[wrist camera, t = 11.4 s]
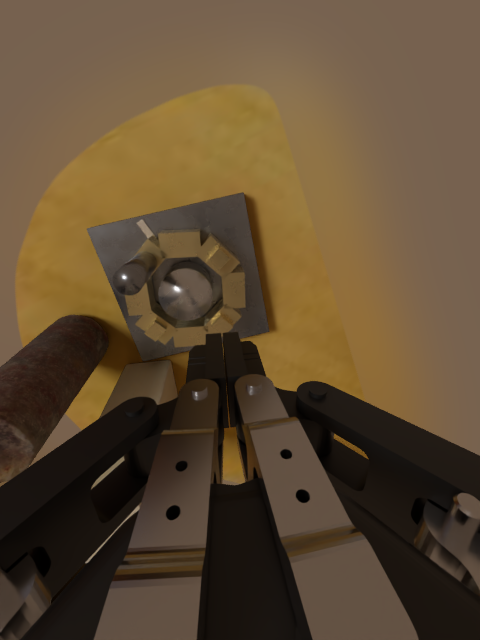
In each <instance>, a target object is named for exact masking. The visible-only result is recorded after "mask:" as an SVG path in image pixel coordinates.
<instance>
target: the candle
mask: <svg viewBox="0 0 480 640" xmlns="http://www.w3.org/2000/svg"><path fill="white" fill-rule="evenodd" d="M108 343H109V341H108V337H107V334H106V333H105V331H104V330H103V329H102V327H101V326H100V325H99V324H98V323H97V322H95V321H94V320H93V319H91V318H88V317H84V316H79V315H68V316H65V317H62V318H60V319H58V320H57V321H55V322H54V323H53V324H52V325H50V326H49V327H48V328H47V329H46V330H44V331H43V332H42V333H41V334H40V335H38V336H37V337H36V338H35V339H33V340H32V341H31V342H30V343H29V344H28V345H26V346H25V347H24V348H23V349H22V350H20V351H19V352H18V353H17V354H16V355H15V356H13V357H12V358H11V359H10V360H9V361H8V362H6V363H5V364H4V365H2V366H1V367H0V483H1V482H4V481H10V480H11V479H12V478H14V477H15V476H17V475H18V474H20V473H21V472H23V471H24V470H25V469H26V468H27V467H28V466H29V465H30V464H31V463H32V461H33V460H34V458H35V457H36V455H37V453H38V452H39V451H40V449H41V448H42V446H43V445H44V443H45V442H46V440H47V439H48V437H49V436H50V434H51V433H52V431H53V430H54V428H55V427H56V426H57V424H58V423H59V421H60V419H61V418H62V416H63V415H64V413H65V412H66V411H67V409H68V408H69V406H70V404H71V403H72V401H73V400H74V398H75V397H76V396H77V394H78V393H79V391H80V390H81V388H82V387H83V385H84V384H85V382H86V381H87V380H88V378H89V377H90V375H91V374H92V372H93V371H94V369H95V368H96V367H97V365H98V364H99V362H100V361H101V359H102V357H103V356H104V354H105V353H106V351H107V348H108Z"/></svg>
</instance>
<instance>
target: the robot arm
mask: <svg viewBox="0 0 480 640" xmlns="http://www.w3.org/2000/svg"><path fill="white" fill-rule="evenodd" d="M223 349H224V356H223ZM224 364H225V366H224ZM226 386H227V391H226ZM227 396H228V407H229V417H230V427H236V430H237V444H238V449H239V454H240V459H241V463H242V468H243V473H244V477H245V483H242V484H240V485H235V486H234V485H226V484H222V478H223V440H224V428H229V422H228V407H227ZM334 434H336V435H338V436H340V437H341V438H343V439H345V440H346V441H348V442H350V443H351V444H353V445H355V446H357V447H358V448H360V449H361V450H362V451H364V452H365V454H366V455H367V456H368V458H369V460H368V459H367V458H365V457H363V456H362V455H360V454H358V453H357V452H355V451H353V450H352V449H350V448H348V447H347V446H345V445H343V444H342V443H340V442H338V441H337V440H335V439H333V438H334ZM123 456H124V461H123V462H122V463H121V464H119V465H118V466H117V467H116V468H115V469H114V470H113V471H111V472H110V473H109V474H108V475H107V476H106V477H105V478H104V479H102V480H101V481H100V482H99V483H98V484H97V485H96V486H94V487H93V488H92V486H93V484H94V483H95V481H96V480H97V479H98V478H99V477H100V476H101V475H102V474H103V473H105V472H106V471H107V470H108V469H109V468H110V467H111V466H113V465H114V464H115V463H116V462H117V461H118V460H120V459H121V458H122V457H123ZM333 487H334V488H333ZM91 488H92V489H91ZM140 503H141V505H140V509H139V510H138V511H137V512H136V513H134V514H133V515H132V516H130V517H129V518H128V519H127V520H126V521H125V522H124V523H123V524H122V522H123V521H124V520H125V519H126V518H127V517H128V516H129V515H130V514H131V513H132V512H133V511H134V510H135V508H136V507H137V506H138V505H139V504H140ZM121 524H122V525H121ZM120 525H121V526H120ZM119 526H120V527H119ZM118 527H119V528H118ZM117 528H118V529H117ZM116 529H117V530H116ZM115 530H116V531H115ZM114 531H115V532H114ZM113 532H114V534H113V535H112V536H111V537H110V538H109V536H110V535H111V534H112V533H113ZM108 538H109V539H108ZM107 539H108V540H107ZM106 540H107V541H106ZM105 541H106V543H105V544H104V545H103V546H102V547H101V548H100V549H99V551H98V552H97V553H96V554H95V555H94V556H93V557H92V559H91V560H90V561H89V562H88V563H87V564H86V565H85V566H84V568H83V569H82V570H81V571H80V572H79V573H78V575H77V576H76V577H75V578H74V579H73V580H72V581H71V583H69V585H68V586H67V587H66V588H65V589H64V590H63V592H62V593H61V594H60V595H59V596H58V597H57V598H56V599H55V601H54V602H53V603H52V604H51V605H50V603H51V599H52V598H53V596H55V595H56V593H57V592H58V591H59V590H60V589H61V588H62V587H63V586H64V585H65V584H66V582H68V581H69V579H70V578H71V577H72V576H73V575H74V574H75V573H76V572H77V571H78V569H80V568H81V566H82V565H83V564H84V563H85V562H86V561H87V560H88V559H89V558H90V557H91V556H92V555H93V554H94V553H95V552H96V550H97V549H98V548H99V547H100V546H101V545H102V544H103V543H104V542H105ZM0 640H480V456H479V455H477V454H475V453H473V452H470V451H468V450H466V449H464V448H462V447H460V446H458V445H456V444H454V443H451V442H449V441H447V440H445V439H443V438H441V437H439V436H437V435H434V434H432V433H430V432H428V431H426V430H424V429H421V428H419V427H418V426H415V425H413V424H411V423H409V422H407V421H405V420H403V419H400V418H398V417H396V416H394V415H392V414H390V413H388V412H386V411H384V410H381V409H379V408H377V407H375V406H373V405H371V404H369V403H367V402H364V401H362V400H360V399H358V398H356V397H354V396H352V395H350V394H347V393H345V392H343V391H341V390H339V389H337V388H335V387H333V386H330V385H328V384H326V383H323V382H318V381H310V382H305V383H303V384H301V385H300V386H299V387H298V388H297V392H294V391H287V390H282V389H279V388H276V387H274V385H273V383H272V381H271V380H270V379H269V378H267V377H266V374H265V371H264V368H263V365H262V362H261V359H260V356H259V353H258V350H257V346H256V345H254V344H253V343H252V342H251V341H243V342H240V338H239V334H238V332H225V333H223V346H222V336H221V333H213V334H206V343H205V345H195V346H194V347H193V348H192V349H191V350H190V352H189V360H188V368H187V377H186V384H185V385H183V386H182V388H181V389H180V392H179V395H178V397H177V398H175V399H173V400H171V401H168V402H166V403H162V404H159V405H157V403H156V401H155V400H154V399H152V398H149V397H135V398H131V399H128V400H126V401H124V402H123V403H121V404H120V405H118V406H117V407H115V408H114V409H112V410H111V411H109V412H108V413H107V414H105V415H104V416H102V417H101V418H99V419H98V420H96V421H95V422H94V423H92V424H91V425H89V426H88V427H86V428H85V429H83V430H82V431H81V432H79V433H78V434H76V435H75V436H73V437H72V438H70V439H69V440H67V441H66V442H65V443H63V444H62V445H60V446H59V447H57V448H56V449H54V450H53V451H52V452H50V453H49V454H47V455H46V456H44V457H43V458H42V459H40V460H39V461H37V462H36V463H34V464H33V465H31V466H30V467H29V468H27V469H25V470H24V471H23V472H21V473H20V474H18V475H17V476H15V477H14V478H12V479H11V480H10V481H8V482H7V483H5V484H4V485H2V486H1V487H0Z"/></svg>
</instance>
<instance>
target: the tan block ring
mask: <svg viewBox="0 0 480 640" xmlns="http://www.w3.org/2000/svg"><path fill="white" fill-rule="evenodd" d="M158 237H159V240H158V239H157V238H155V237H154V236H153V235H152V236H151V237H149V238H148V239H147V240H146V241H145V243H144V244H143V245H142V247H141V248H140V249H139V250H138V252H137V253H136V254H135V255H134V257H133V258H132V259H130V260H129V261H128V262H127V263H126V264H124V265H123V266H122V267H121V268H120V269H118V270H117V271H116V272H115V273H114V275H113V285H114V287H115V288H116V290H117V291H118V292H120V293H121V294H124V295H125V299H126V304H127V309H128V313H129V316H133V315H140V316H139V318H138V320H137V322H136V324H135V325H137V326H138V327H140V328H141V329H142V330H144V331H145V333H144V334H145V335H147V336H148V337H150V338H151V339H153V340H154V341H155V342H156V341H157V340H159V341H160V342H161V343H163V344H164V345H165V344H166V343H167V342H168V341H169V340H170V339H171V338H172V337H173V338H174V345H175V347H187V346H195V345H205V343H206V334H213V333H221V336H223V333H225V332H229V331H230V330H231V329H232V328H233V325H234V324H235V323H236V322H237V321H238V320H239V319H240V318H241V317H242V315H241V312H240V308H245V273H244V270H243V268H242V266H237V265H238V264H239V263H240V261H239V259H238V257H237V256H236V255H235V254H233V253H232V252H231V251H230V250H229V249H228V248H227V247H226V246H225V245H224V244H223V243H221V242H220V241H219V240H218V239H217V238H216V237H215V236H214V235H213V234H212V233H211V232H210V233H209V235H208V236H207V237H206V238H205V239H204V240H203V242H202V243H201V233H200V229H180V230H162V231H161V232H159V233H158ZM182 257H199V258H200V259H201V260H202V261H204V262H205V263H206V264H207V265H208V266H209V267H211V268H212V269H213V270H214V271H215V272H216V273H218V274H219V275H220V276H221V283H222V298H221V300H220V301H219V302H218V303H217V304H216V305H215V306H214V307H213V308H212V309H211V310H210V311H209V312H208V314H207V315H206V316H204V317H199V318H197V319H194V320H189V321H184V320H179V319H176V318H173V317H172V316H170V315H169V314H167V313H166V312H165V311H164V309H163V308H162V306H160V305H159V304H158V303H156V301H155V295H154V289H153V283H152V277H151V275H152V274H153V273H154V272H155V271H156V269H157V268H158V267H159V266H160V265H161V263H162V262H163V261H164V260H165V258H182Z"/></svg>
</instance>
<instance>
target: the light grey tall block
mask: <svg viewBox="0 0 480 640" xmlns="http://www.w3.org/2000/svg"><path fill="white" fill-rule="evenodd" d="M135 397H149V398H152V399H154V400H155V401H156V403H157V405H159V404H162V403H166V402H168V401H171V400H173V399H175V398H177V397H178V394H177V389H176V384H175V379H174V374H173V369H172V364H171V361H170V360H163V361H154V362H145V363H136V364H127V365H126V366H125V368H124V370H123V372H122V374H121V376H120V378H119V380H118V382H117V384H116V386H115V388H114V390H113V392H112V394H111V396H110V398H109V400H108V402H107V404H106V406H105V408H104V410H103V412H102V414H101V416H100V418H101V417H102V416H104V415H105V414H107V413H108V412H109V411H111V410H112V409H114V408H115V407H117V406H118V405H120V404H121V403H123V402H124V401H126V400H128V399H131V398H135ZM123 461H124V456H123V457H122V458H121V459H120V460H118V461H117V462H116V463H115V464H114V465H113V466H111V467H110V468H109V469H108V470H107V471H106V472H105V473H103V474H102V475H101V476H100V477H99V478H98V479H97V480H96V481H95V483H94V484H93V486H92V488H93V487H94V486H96V485H97V484H98V483H99V482H100V481H101V480H102V479H104V478H105V477H106V476H107V475H108V474H109V473H110V472H111V471H113V470H114V469H115V468H116V467H117V466H118V465H119V464H121V463H122V462H123ZM92 488H91V489H92ZM140 505H141V503H140V504H139V505H138V506H137V507H136V508H135V510H134V511H133V512H132V513H131V514H130V515H129V516H128V517H127V518H126V519H125V520H124V521H123V522H122V524H123V523H124V522H125V521H126V520H127V519H128V518H129V517H130V516H132V515H133V514H134V513H136V512H137V511H138V510H139V509H140ZM122 524H121V525H122ZM121 525H120V526H121ZM120 526H119V527H120ZM119 527H118V528H119ZM118 528H117V529H118ZM117 529H116V530H117ZM116 530H115V531H116ZM115 531H114V532H115ZM114 532H113V533H112V534H111V535H110V536H109V538H110V537H111V536H112V535H113V534H114ZM109 538H108V539H109ZM108 539H107V540H108ZM107 540H106V541H107ZM106 541H105V542H104V543H103V544H102V545H101V546H100V547H99V548H98V549H97V550H96V552H95V553H94V554H93V555H92V556H91V557H90V558H89V559H88V560H87V561H86V562H85V563H88V562H89V561H90V560H91V559H92V557H93V556H94V555H95V554H96V553H97V552H98V551H99V549H100V548H101V547H102V546H103V545H104V544H105V543H106Z"/></svg>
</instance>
